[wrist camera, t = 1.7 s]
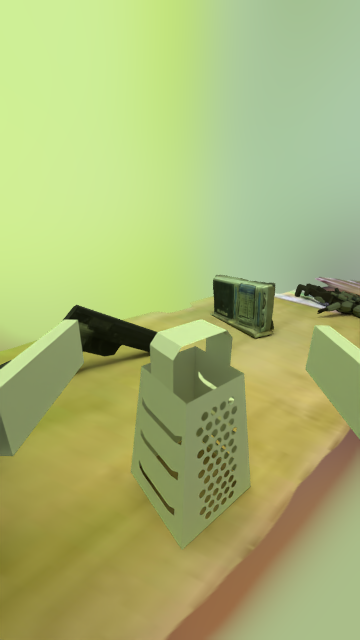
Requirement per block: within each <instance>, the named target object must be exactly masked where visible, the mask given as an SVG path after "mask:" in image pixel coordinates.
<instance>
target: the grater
mask: <svg viewBox="0 0 360 640" xmlns="http://www.w3.org/2000/svg"><path fill="white" fill-rule="evenodd" d="M205 338H206V352H205V351H203V350H201V349H199V348H198V347H196V346H195V347H192V348H189V349H187V350H184V351H181V352H179V350H180V349H181V347H182V346H185V345H188V344H191V343H194V342H196V341H199V340H202V339H205ZM231 349H232V336H231V335H230V334H229V332H228V331H227V330H225V329H223V328H220V327H218V326H216V325H213V324H211V323H209V322H206V321H204V320H202V319H201V320H197V321H194V322H191V323H187V324H184V325H181V326H177V327H174V328H171V329H167V330H164V331H160V332H157V334H156V336H155V337H154V339H153V340H152V342H151V344H150V359H151V363H149V364H146V365H144V366H142V368H141V378H140V388H139V398H138V407H137V417H136V427H135V436H134V446H133V456H132V466H131V473H132V474H133V476H134V477H135V479H136V480H137V482H138V483H139V485H140V487H141V488H142V490H143V491H144V493H145V494H146V496H147V497H148V499H149V500H150V502H151V503H152V505H153V506H154V508H155V509H156V511H157V513H158V514H159V516H160V517H161V519H162V520H163V522H164V523H165V525H166V526H167V528H168V529H169V531H170V532H171V534H172V535H173V537H174V539H175V540H176V542H177V543H178V545H179V546H180V548H181V549H184V548H185V547H186V546H187V545H188V544H189V543H190V542H191V541H192V540H193V539H194V538H195V537H196V536H198V535H199V534H200V533H201V532H202V531H203V530H204V529H205V528H206V527H207V526H208V525H209V524H210V523H211V522H213V521H214V520H215V519H216V518H217V517H218V516H219V515H220V514H221V513H222V512H223V511H224V510H225V509H227V508H228V507H229V506H230V505H231V504H232V503H233V502H234V501H235V500H236V499H237V498H238V497H239V496H241V495H242V494H243V493H244V492H245V491H246V490H247V489H248V488H249V487H250V470H249V453H248V435H247V417H246V400H245V382H244V373H242V372H240V371H239V370H237V369H235V368H233V367H231V366H230V360H231ZM178 352H179V353H178ZM198 371H199V372H200V374H201V375H202V377H203V378H204V379H205V380H206V381H208V382H209V383H211V384H212V385H214V386H215V387H217V388H216V389H214V390H213V389H212V388H210V387H209V386H207V385H206V384H204V383H203V381H202V380H201V379H200V378H199V372H198ZM230 397H232V398H233V399H234V401H232V402H230V401H229V399H230ZM211 410H213V411H214V412H216V414H215V415H213V414H212V413H211ZM218 416H221V421H220V420H219V419H218V418H217V417H218ZM224 423H225V424H226V425H225V424H224ZM228 423H230V424H231V425H232V426H228ZM234 427H236V428H237V431H236V432H234V431H233V430H232V429H233V428H234ZM202 428H203V429H202ZM208 435H209V436H208ZM211 435H213V436H214V438H212V437H211ZM181 440H182V443H181V445H179V444H177V443H178V442H180V441H181ZM216 440H218V441H219V442H220V444H219V445H218V444H217V443H216ZM202 441H203V442H204V443H205V444H203V443H202ZM222 445H224V446H225V447H226V449H225V450H224V449H223V448H222ZM207 446H208V447H209V448H210V449H211V451H210V452H207V451H206V449H207ZM202 449H203V450H204V455H203V456H202V457H201V458H200V459H199V458H197V455H198V453H199V451H200V450H202ZM227 451H229V452H230V453H229V454H228V453H227ZM213 452H215V453H216V454H217V456H216V457H215V458H214V459H213V458H212V454H213ZM157 455H159V456H160V457H161V458H162V459H163V460H164V462H165V463H166V464H167V465H168V467H169V468H170V469H171V470H172V471H175V472H178V480H176V479H175V478H173V477H172V476H171V475H170V474H169V473H168V471H167V470H166V469H165V468H164V466H163V465H162V464H161V463H160V461H159V460H158V459H157V458H156V456H157ZM207 456H209V457H210V460H209V462H208V463H207V464H206V465H204V464H203V461H204V459H205V458H206V457H207ZM219 457H220V458H221V459H222V461H221V463H220V464H219V465H216V460H217V459H218V458H219ZM233 457H234V458H233ZM211 463H213V468H212V470H211V471H209V472H208V471H207V467H208V466H209V464H211ZM223 463H226V468H225V469H224V470H223V471H221V466H222V464H223ZM141 465H142V468H143V470H144V472H145V473H146V475H147V476H148V477H149V479H150V480H151V482H152V483H153V484H154V486H155V487H156V489H157V490H158V492H159V493H160V494H161V496H162V497H163V499H164V500H165V501H166V503H167V504H168V506H170V507H172V508H174V515H172V514H171V513H170V512H169V511H168V510H167V508H166V507H165V506H164V504H163V503H162V501H161V500H160V498H159V497H158V495H157V494H156V493H155V491H154V490H153V488H152V487H151V485H150V484H149V482H148V481H147V480H146V478H145V477H144V475H143V473H142V471H141V469H140V467H139V466H141ZM215 469H218V474H217V475H216V476H215V477H213V476H212V474H213V472H214V470H215ZM231 469H233V470H234V471H233V472H232V471H231ZM201 470H205V474H204V476H203V477H202V478H198V474H199V473H200V471H201ZM227 470H229V471H230V472H229V475H228V476H227V477H226V478H225V477H224V474H225V472H226V471H227ZM208 475H210V480H209V482H208V483H206V484H204V479H205V478H206V477H207V476H208ZM231 475H234V478H233V480H232V481H231V482H230V483H229V482H228V480H229V477H230V476H231ZM219 476H222V480H221V482H220V483H219V484H216V480H217V478H218V477H219ZM234 480H236V481H237V482H236V485H235V486H234V487H233V488H232V487H231V485H232V483H233V481H234ZM224 481H226V482H227V483H226V486H225V487H224V488H223V489H221V485H222V483H223V482H224ZM211 483H214V486H213V488H212V489H211V490H210V491H208V486H209V485H210V484H211ZM228 486H229V487H230V488H229V491H228V492H227V493H226V494H224V490H225V488H226V487H228ZM216 488H219V491H218V493H217V494H216V495H215V496H213V491H214V490H215V489H216ZM204 489H205V490H206V492H205V495H204V496H203V497H202V498H199V494H200V492H201V491H202V490H204ZM231 491H234V493H233V496H232V497H231V498H228V496H229V493H230V492H231ZM219 493H222V497H221V498H220V500H217V496H218V494H219ZM209 494H210V495H211V498H210V500H209V501H208V502H207V503H205V498H206V496H207V495H209ZM225 497H226V498H227V500H226V502H225V503H224V504H223V505H221V501H222V500H223V498H225ZM211 500H214V504H213V506H212V507H210V508H209V507H208V505H209V502H210V501H211ZM217 504H219V508H218V510H217V511H216V512H213V509H214V507H215V506H216V505H217ZM203 507H206V511H205V513H204V514H202V515H200V511H201V509H202V508H203ZM209 511H211V515H210V517H209V518H208V519H205V516H206V514H207V513H208V512H209Z"/></svg>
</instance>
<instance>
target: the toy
mask: <svg viewBox="0 0 360 640" xmlns="http://www.w3.org/2000/svg"><path fill="white" fill-rule="evenodd" d="M302 290H304V291H305V292H304V296H307V295H309V294H310V295H311V296H313V297H315V298H314V299H316V300H317V301H319V302H320V303H326V302H327V303H329V306H327V307H325V308H323V309H320V310H318V312H319V313H322V312H324V311H333V310H336V309H338V311H340V312H345V313H352V312H353V314H354V315H355V316H357V317H360V296H359V295H357V294H353V293H348V292H344V291H342V292H340V291H339V290H338V288H335V291H326V290H325V289H323V288H321V287H320V286H315V285H311V284H307V285H306V286H304V285H301V284H299V285H298V287H297V289H296V292H295V296H298V297H299V296H300V294H301V292H302ZM319 313H317V314H319Z"/></svg>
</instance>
